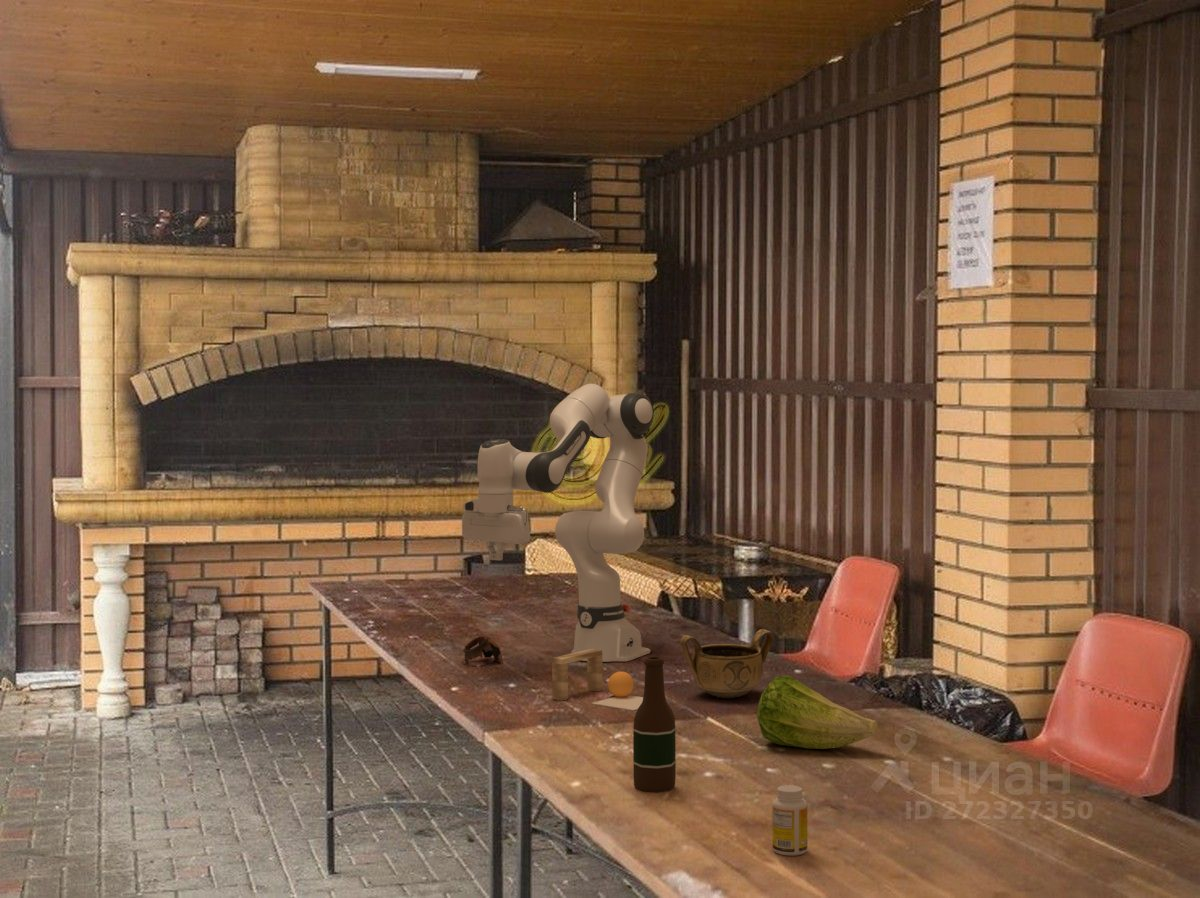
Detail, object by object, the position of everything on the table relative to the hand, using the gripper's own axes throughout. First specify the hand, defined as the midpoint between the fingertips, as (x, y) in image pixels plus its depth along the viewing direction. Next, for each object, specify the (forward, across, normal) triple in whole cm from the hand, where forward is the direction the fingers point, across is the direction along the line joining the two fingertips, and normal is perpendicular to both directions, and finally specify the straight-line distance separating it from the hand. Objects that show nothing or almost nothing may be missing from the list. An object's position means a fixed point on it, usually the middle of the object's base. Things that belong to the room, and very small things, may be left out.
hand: (496, 559), depth 395 cm
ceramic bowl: (+29, -60, -14) cm, 68 cm away
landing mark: (+29, -46, +6) cm, 55 cm away
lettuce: (+30, -103, +17) cm, 108 cm away
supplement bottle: (+30, -134, +79) cm, 158 cm away
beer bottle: (+30, -94, +61) cm, 116 cm away
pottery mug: (+29, +14, -11) cm, 34 cm away
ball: (+26, -41, +2) cm, 49 cm away
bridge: (+29, -31, +6) cm, 43 cm away
